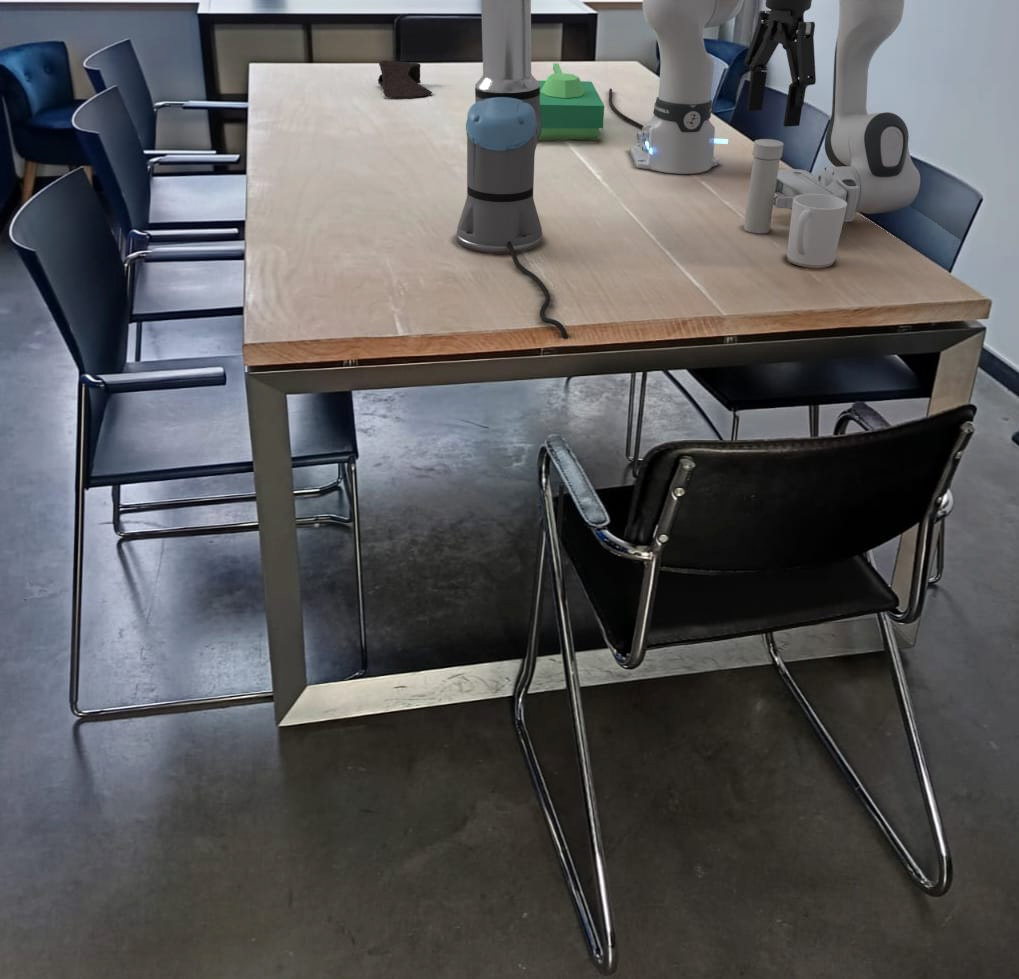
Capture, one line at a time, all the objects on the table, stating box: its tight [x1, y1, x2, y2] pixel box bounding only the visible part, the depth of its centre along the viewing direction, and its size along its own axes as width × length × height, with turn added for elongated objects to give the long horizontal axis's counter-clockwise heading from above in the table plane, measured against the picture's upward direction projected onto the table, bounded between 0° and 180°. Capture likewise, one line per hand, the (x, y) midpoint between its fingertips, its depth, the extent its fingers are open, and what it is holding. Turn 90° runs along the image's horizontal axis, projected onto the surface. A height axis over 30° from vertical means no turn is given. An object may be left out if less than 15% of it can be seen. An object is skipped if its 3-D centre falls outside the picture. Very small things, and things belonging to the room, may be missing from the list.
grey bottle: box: [743, 156, 781, 234], centre depth 200 cm, size 5×5×16 cm
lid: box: [752, 138, 785, 160], centre depth 196 cm, size 5×5×2 cm
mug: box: [786, 194, 847, 269], centre depth 186 cm, size 11×9×10 cm
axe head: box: [377, 59, 433, 99], centre depth 299 cm, size 18×8×15 cm
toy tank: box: [537, 63, 605, 141], centre depth 267 cm, size 18×12×35 cm
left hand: (772, 117), depth 194 cm, fingers open, 12 cm apart
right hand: (764, 194), depth 201 cm, fingers open, 8 cm apart
